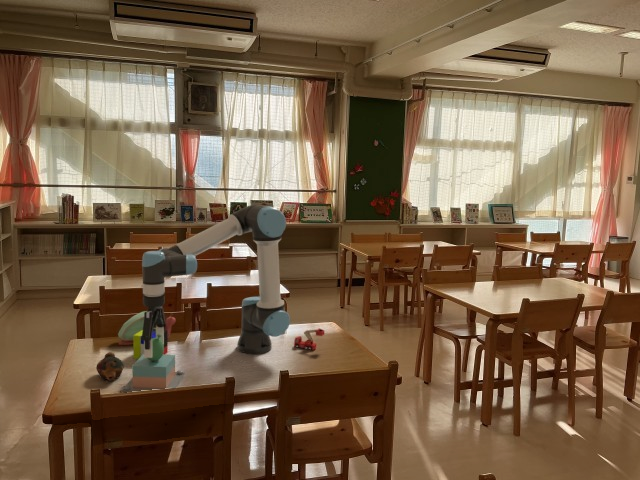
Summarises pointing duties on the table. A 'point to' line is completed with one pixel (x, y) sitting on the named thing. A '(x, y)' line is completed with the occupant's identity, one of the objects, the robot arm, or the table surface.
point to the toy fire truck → (309, 342)
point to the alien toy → (156, 349)
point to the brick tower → (154, 374)
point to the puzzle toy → (139, 344)
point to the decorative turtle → (110, 367)
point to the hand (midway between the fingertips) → (154, 350)
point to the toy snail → (139, 328)
